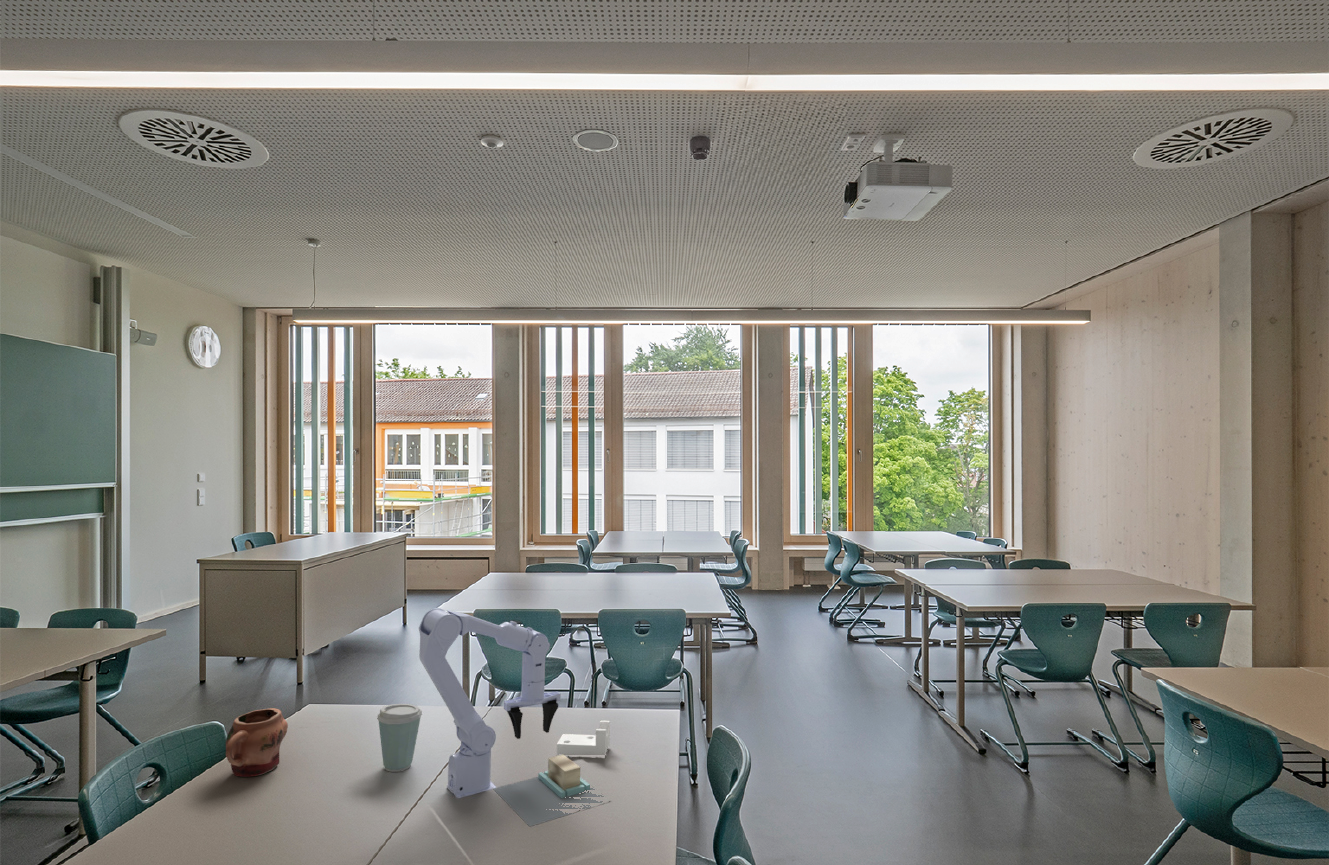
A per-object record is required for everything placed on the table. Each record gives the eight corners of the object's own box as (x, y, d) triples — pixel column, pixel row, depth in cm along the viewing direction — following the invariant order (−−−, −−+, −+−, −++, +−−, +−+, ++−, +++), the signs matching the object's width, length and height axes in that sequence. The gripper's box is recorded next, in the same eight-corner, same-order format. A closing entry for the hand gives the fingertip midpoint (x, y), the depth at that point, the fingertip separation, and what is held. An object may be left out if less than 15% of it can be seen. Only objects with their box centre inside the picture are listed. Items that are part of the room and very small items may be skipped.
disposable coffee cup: (406, 755, 184) (408, 697, 185) (429, 766, 178) (430, 706, 178) (367, 768, 176) (369, 707, 177) (390, 780, 169) (391, 717, 170)
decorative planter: (256, 790, 163) (258, 730, 164) (202, 791, 163) (205, 730, 163) (297, 756, 183) (299, 702, 184) (250, 756, 183) (252, 702, 183)
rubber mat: (529, 829, 147) (529, 826, 147) (492, 791, 164) (493, 788, 164) (611, 804, 158) (611, 801, 158) (569, 770, 175) (569, 768, 176)
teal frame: (561, 798, 160) (561, 792, 160) (538, 778, 170) (538, 773, 170) (590, 789, 164) (590, 784, 164) (566, 770, 174) (566, 765, 174)
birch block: (548, 778, 169) (548, 758, 170) (562, 775, 172) (563, 754, 172) (564, 793, 162) (565, 771, 162) (580, 788, 164) (580, 767, 165)
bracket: (609, 748, 190) (609, 720, 191) (605, 759, 183) (605, 730, 184) (562, 747, 191) (563, 719, 192) (556, 757, 184) (557, 728, 185)
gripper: (511, 688, 169) (510, 745, 168) (566, 679, 177) (565, 733, 176) (501, 680, 174) (499, 736, 174) (554, 672, 183) (553, 725, 182)
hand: (532, 734), depth 175 cm, fingers open, 7 cm apart
